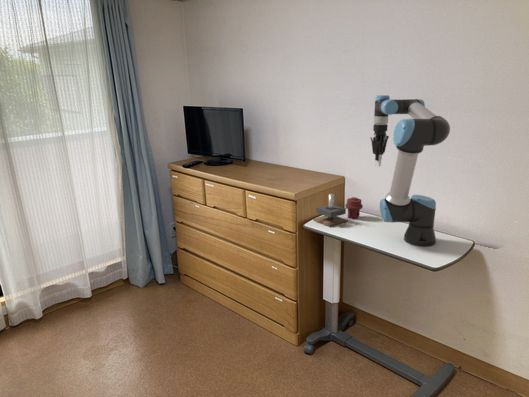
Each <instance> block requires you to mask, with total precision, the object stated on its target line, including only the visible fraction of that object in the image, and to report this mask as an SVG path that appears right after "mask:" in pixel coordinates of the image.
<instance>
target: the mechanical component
mask: <svg viewBox="0 0 529 397" xmlns="http://www.w3.org/2000/svg"><path fill="white" fill-rule="evenodd" d="M344 206H345V209H346V210H347V219H353V220H358V217H360V212H361V211H360V210H362V209H363V204H362V199H360V198H358V197H355V196H352V197H351V198H350V197H349V198H347V199H346V203H345V205H344Z"/></svg>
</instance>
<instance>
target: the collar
mask: <svg viewBox="0 0 529 397" xmlns="http://www.w3.org/2000/svg"><path fill="white" fill-rule="evenodd" d="M346 211H347V208H346V207H345V208H344V207H341V206H338V205H336V204H334V209H333V210H329V209H328V204H326V205H321V206H316V209H315V213H316V214H319V215H322V216H327V217H330V218H331V217H335V216H338V217H340V216H342V215H345V214H346Z"/></svg>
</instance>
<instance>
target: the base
mask: <svg viewBox="0 0 529 397" xmlns="http://www.w3.org/2000/svg"><path fill="white" fill-rule="evenodd" d="M313 222H315V223H318V224H321V225H323V226H326V227H329V228H333V227H336V226H341V225H344V224H347V223H348V222H349V220H348V219H347V218H343V217H341V216H335V217H333V220H328V217H327V216H324V215H322V216H318V217H314V218H313Z"/></svg>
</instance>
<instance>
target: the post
mask: <svg viewBox="0 0 529 397" xmlns="http://www.w3.org/2000/svg"><path fill="white" fill-rule="evenodd" d="M327 205H328V209H329V210H333V209H334V205H335V194H334V193H328V204H327ZM328 220H333V217H331V218H330V217H328Z"/></svg>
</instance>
